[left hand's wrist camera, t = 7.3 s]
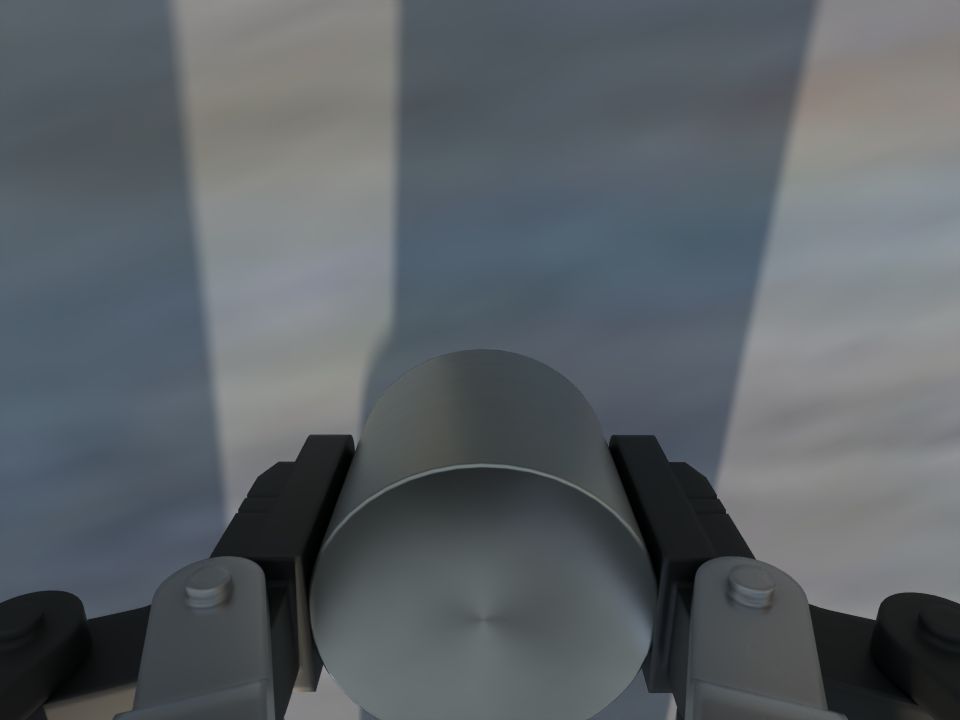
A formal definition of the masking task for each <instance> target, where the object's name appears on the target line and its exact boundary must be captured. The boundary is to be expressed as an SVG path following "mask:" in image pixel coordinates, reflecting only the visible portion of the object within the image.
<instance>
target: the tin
mask: <svg viewBox="0 0 960 720" xmlns="http://www.w3.org/2000/svg"><path fill="white" fill-rule="evenodd" d="M657 598H658V581H657V577H656V573H655V570H654V567H653V564H652V561H651V558H650V555H649V553H648V550H647V547H646V545H645V542H644V539H643V537H642V534H641V531H640V529H639V526H638V524H637V521H636V518H635V516H634V513H633V510H632V508H631V505H630V502H629V500H628V497H627V495H626V492H625V489H624V487H623V484H622V481H621V479H620V476H619V473H618V471H617V468H616V466H615V463H614V460H613V458H612V455H611V452H610V450H609V447H608V445H607V442H606V439H605V437H604V434H603V431H602V429H601V426H600V423H599V421H598V419H597V417H596V415H595V413H594V411H593V409H592V407H591V406H590V404H589V403H588V401H587V400H586V398H585V397H584V396H583V394H582V393H581V392H580V391H579V390H578V389H577V388H576V387H575V386H574V385H573V384H572V383H571V382H570V381H569V380H567V379H566V378H565V377H564V376H563V375H561V374H560V373H559V372H557V371H555V370H554V369H552V368H551V367H549V366H547V365H545V364H543V363H541V362H539V361H537V360H534V359H532V358H529V357H526V356H523V355H520V354H516V353H512V352H506V351H500V350H485V349H478V350H464V351H459V352H454V353H449V354H445V355H442V356H439V357H436V358H433V359H430V360H428V361H426V362H424V363H422V364H420V365H418V366H416V367H414V368H413V369H411V370H410V371H408V372H407V373H405V374H404V375H402V376H401V377H400V378H399V379H398V380H396V381H395V382H394V383H393V384H392V385H391V386H390V387H389V388H388V389H387V390H386V391H385V392H384V393H383V395H382V396H381V397H380V398H379V400H378V401H377V403H376V404H375V406H374V407H373V409H372V410H371V413H370V415H369V417H368V419H367V421H366V423H365V426H364V429H363V431H362V434H361V437H360V440H359V442H358V445H357V448H356V451H355V453H354V456H353V459H352V462H351V464H350V467H349V470H348V473H347V475H346V478H345V481H344V484H343V486H342V489H341V492H340V495H339V497H338V500H337V503H336V506H335V508H334V511H333V514H332V517H331V519H330V522H329V525H328V528H327V530H326V533H325V536H324V539H323V541H322V544H321V547H320V550H319V552H318V555H317V558H316V561H315V564H314V567H313V571H312V574H311V577H310V581H309V589H308V611H309V620H310V628H311V635H312V639H313V642H314V644H315V647H316V650H317V652H318V655H319V657H320V659H321V661H322V662H323V664H324V666H325V668H326V670H327V671H328V673H329V674H330V676H331V677H332V678H333V679H334V681H335V682H336V683H337V685H338V686H339V687H340V688H341V689H342V690H343V691H344V692H345V693H346V694H347V695H348V696H349V697H350V698H351V699H352V700H353V701H354V702H355V703H356V704H358V705H359V706H360V707H361V708H363V709H364V710H365V711H366V712H368V713H369V714H371V715H372V716H374V717H376V718H377V719H379V720H588V719H589V718H591V717H592V716H594V715H595V714H597V713H599V712H600V711H602V710H603V709H604V708H605V707H606V706H608V705H609V704H610V703H611V702H613V701H614V700H615V699H616V698H617V697H618V696H619V695H620V694H621V693H622V692H623V691H624V690H625V689H626V688H627V687H628V686H629V685H630V683H631V682H632V680H633V679H634V678H635V676H636V675H637V674H638V672H639V671H640V669H641V668H642V666H643V664H644V662H645V660H646V658H647V656H648V654H649V652H650V649H651V647H652V641H653V634H654V625H655V617H656V608H657Z"/></svg>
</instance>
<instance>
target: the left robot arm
mask: <svg viewBox="0 0 960 720" xmlns="http://www.w3.org/2000/svg"><path fill="white" fill-rule="evenodd" d="M609 450H610V452H611V455H612V458H613V460H614V463H615V466H616V468H617V471H618V473H619V476H620V479H621V481H622V484H623V487H624V489H625V492H626V495H627V497H628V500H629V502H630V505H631V508H632V510H633V513H634V516H635V518H636V521H637V524H638V526H639V529H640V531H641V534H642V537H643V539H644V542H645V545H646V547H647V550H648V553H649V555H650V558H651V561H652V564H653V567H654V570H655V573H656V577H657V581H658V598H657V608H656V617H655V625H654V634H653V641H652V647H651V649H650V652H649V654H648V656H647V658H646V660H645V662H644V664H643V666H642V671H643V674H644V678H645V681H646V684H647V688H648V691H649V693H673V696H674V699H675V702H676V705H677V712H676V719H675V720H960V604H959V603H956V602H953V601H951V600H948V599H945V598H941V597H938V596H934V595H929V594H924V593H898V594H894V595H891V596H889V597H887V598H886V599H884V601H883V602H882V603H881V605H880V607H879V610H878V614H877V618H876V620H872V619H867V618H863V617H858V616H853V615H849V614H844V613H840V612H835V611H831V610H827V609H823V608H819V607H816V606H814V605H811V604H808V600H807V597H806V594H805V592H804V591H803V589H802V588H801V586H800V585H799V584H798V583H797V582H796V581H795V580H794V579H793V578H792V577H790V576H789V575H788V574H786V573H785V572H783V571H782V570H780V569H778V568H776V567H774V566H772V565H770V564H767V563H765V562H762V561H759V560H756V559H755V557H754V555H753V554H752V552H751V551H750V549H749V547H748V546H747V544H746V542H745V541H744V539H743V537H742V536H741V534H740V532H739V531H738V529H737V528H736V526H735V524H734V523H733V521H732V519H731V518H730V516H729V514H726V509H725V508H724V506H723V505H722V503H721V501H720V500H719V499H717V495H716V493H715V491H714V490H713V488H712V487H711V485H710V483H709V482H708V480H707V478H706V477H705V476H703V475H702V474H700V473H699V472H698V471H696V470H695V469H694V468H692V467H691V466H689V465H688V464H687V463H685V462H668V460H667V458H666V456H665V454H664V452H663V450H662V448H661V447H660V445H659V443H658V441H657V439H656V437H655V436H654V435H612V437H611V439H610V443H609ZM354 453H355V447H354V440H353V437H352V435H309V436H308V438H307V440H306V442H305V444H304V446H303V447H302V449H301V451H300V453H299V455H298V457H297V459H296V461H295V462H278V463H276V464H275V465H274V466H272V467H271V468H269V469H268V470H267V471H265V472H264V473H263V474H261V475H260V476H258V477H257V479H256V481H255V482H254V484H253V486H252V487H251V489H250V491H249V493H248V494H247V498H245V499H244V501H243V503H242V504H241V506H240V508H239V509H238V513H236V514H235V516H234V518H233V519H232V521H231V523H230V524H229V526H228V528H227V529H226V531H225V533H224V534H223V536H222V538H221V539H220V541H219V543H218V544H217V546H216V548H215V549H214V551H213V553H212V554H211V556H210V558H209V559H205V560H201V561H198V562H195V563H193V564H190V565H188V566H186V567H184V568H182V569H180V570H178V571H177V572H175V573H174V574H172V575H171V576H169V577H168V578H167V579H166V580H165V581H164V582H163V583H162V584H161V585H160V586H159V588H158V589H157V591H156V592H155V594H154V597H153V600H152V605H149V606H146V607H142V608H138V609H135V610H130V611H126V612H121V613H116V614H112V615H107V616H103V617H98V618H93V619H89V620H87V618H86V614H85V611H84V607H83V604H82V601H81V600H80V599H79V598H78V597H77V596H75V595H73V594H71V593H68V592H64V591H40V592H34V593H29V594H25V595H21V596H18V597H15V598H12V599H9V600H7V601H4V602H2V603H0V720H285V719H284V715H285V713H286V710H287V707H288V704H289V700H290V697H291V694H292V692H316V689H317V685H318V681H319V678H320V674H321V671H322V667H323V662H322V661H321V659H320V657H319V655H318V652H317V650H316V647H315V644H314V642H313V639H312V635H311V628H310V620H309V611H308V589H309V581H310V577H311V574H312V571H313V567H314V564H315V561H316V558H317V555H318V552H319V550H320V547H321V544H322V541H323V539H324V536H325V533H326V530H327V528H328V525H329V522H330V519H331V517H332V514H333V511H334V508H335V506H336V503H337V500H338V497H339V495H340V492H341V489H342V486H343V484H344V481H345V478H346V475H347V473H348V470H349V467H350V464H351V462H352V459H353V456H354Z"/></svg>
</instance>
